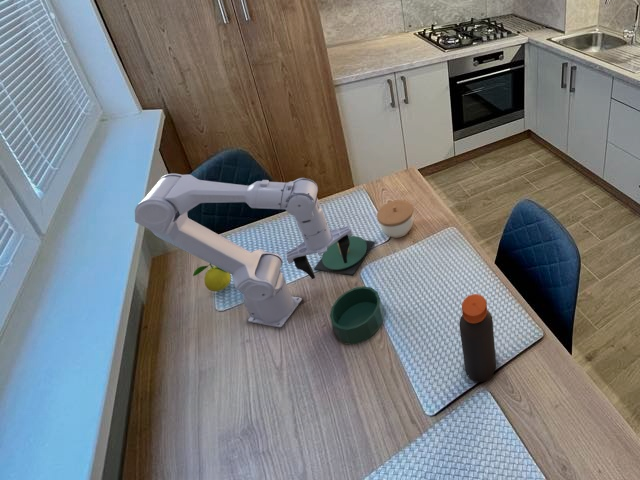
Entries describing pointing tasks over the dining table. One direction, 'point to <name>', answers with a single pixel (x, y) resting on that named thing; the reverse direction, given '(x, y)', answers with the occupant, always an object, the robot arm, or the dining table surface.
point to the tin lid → (354, 254)
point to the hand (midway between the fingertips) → (329, 268)
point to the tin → (357, 315)
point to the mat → (346, 271)
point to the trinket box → (396, 218)
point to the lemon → (214, 278)
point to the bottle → (477, 339)
